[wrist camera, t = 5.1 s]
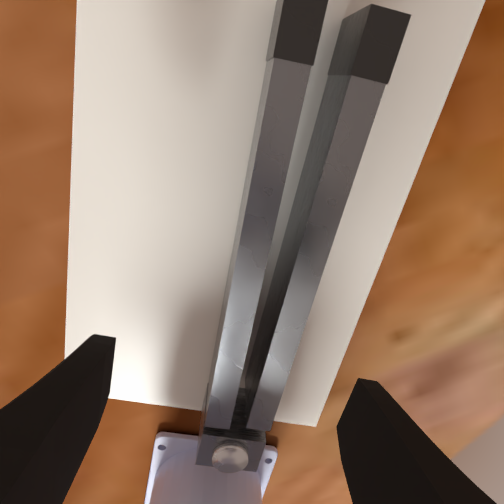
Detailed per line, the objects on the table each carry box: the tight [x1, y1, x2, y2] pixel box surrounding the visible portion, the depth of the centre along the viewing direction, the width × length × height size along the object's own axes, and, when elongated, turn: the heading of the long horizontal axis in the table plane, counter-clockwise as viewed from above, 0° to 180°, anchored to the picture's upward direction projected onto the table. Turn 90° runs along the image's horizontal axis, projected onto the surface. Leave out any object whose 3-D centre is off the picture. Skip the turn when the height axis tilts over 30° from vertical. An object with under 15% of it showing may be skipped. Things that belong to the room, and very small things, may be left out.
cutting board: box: [65, 0, 485, 427], centre depth 19 cm, size 24×15×1 cm, turn 167°
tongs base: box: [195, 4, 411, 473], centre depth 17 cm, size 21×3×4 cm, turn 167°
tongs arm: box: [205, 0, 328, 429], centre depth 17 cm, size 18×1×4 cm, turn 169°
